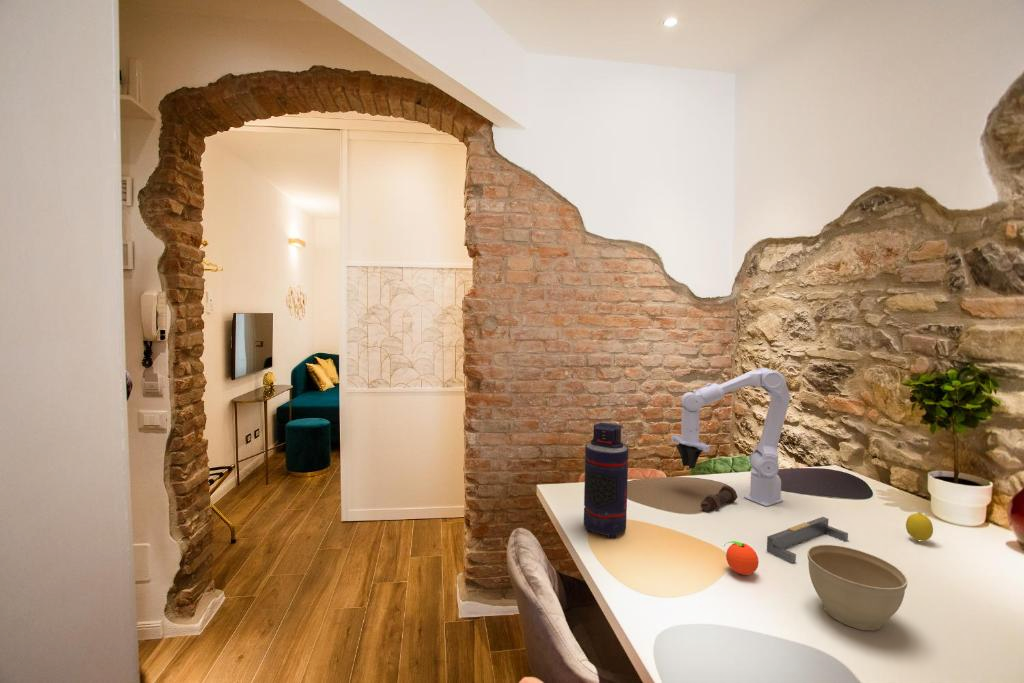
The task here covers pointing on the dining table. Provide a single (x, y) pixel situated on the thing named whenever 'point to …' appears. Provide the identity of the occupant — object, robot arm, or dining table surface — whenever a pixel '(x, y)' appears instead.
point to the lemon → (919, 526)
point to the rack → (800, 537)
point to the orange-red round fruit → (742, 558)
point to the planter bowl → (856, 585)
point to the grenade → (606, 481)
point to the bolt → (719, 498)
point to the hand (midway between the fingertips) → (688, 466)
